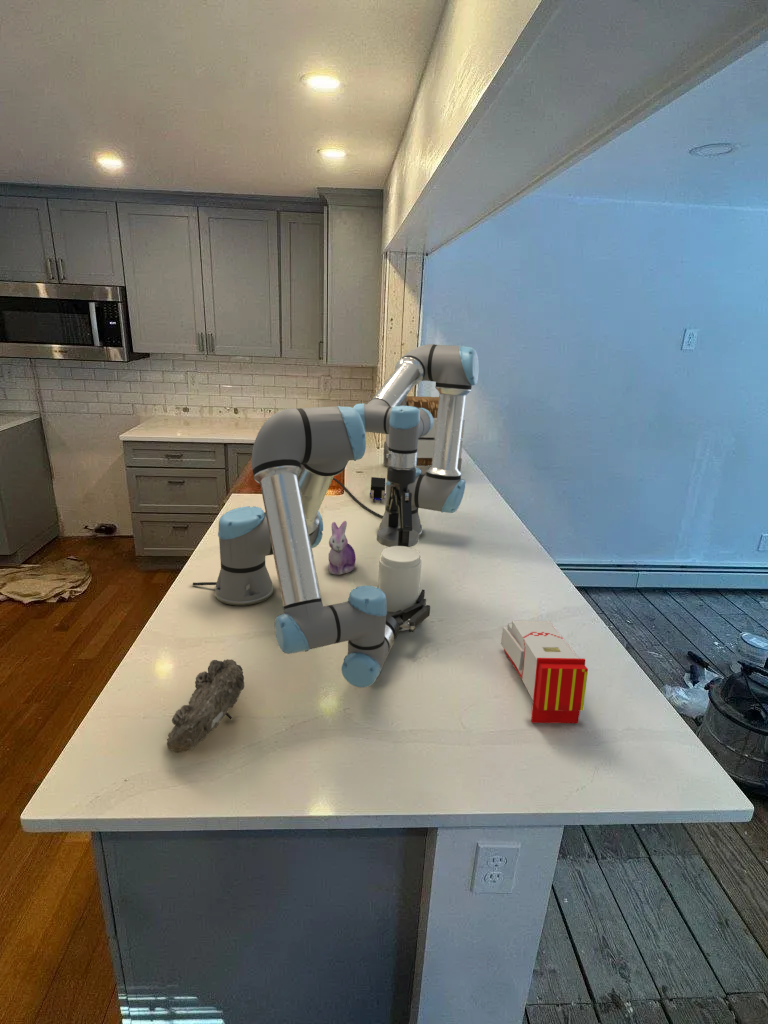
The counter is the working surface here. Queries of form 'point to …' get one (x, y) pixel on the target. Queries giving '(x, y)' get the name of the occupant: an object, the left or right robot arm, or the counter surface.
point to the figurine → (340, 551)
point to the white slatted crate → (427, 440)
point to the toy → (547, 670)
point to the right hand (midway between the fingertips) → (397, 544)
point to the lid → (395, 536)
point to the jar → (400, 577)
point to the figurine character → (377, 489)
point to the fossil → (206, 705)
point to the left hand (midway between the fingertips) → (402, 590)
